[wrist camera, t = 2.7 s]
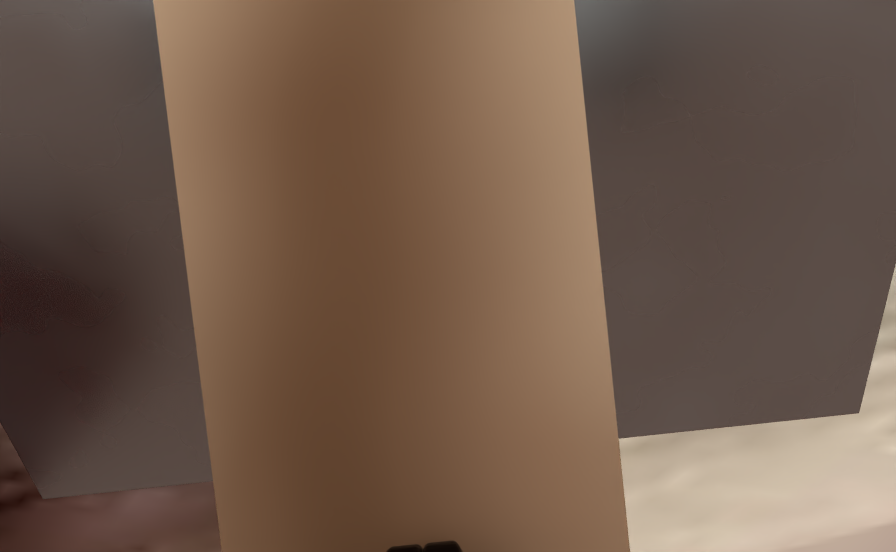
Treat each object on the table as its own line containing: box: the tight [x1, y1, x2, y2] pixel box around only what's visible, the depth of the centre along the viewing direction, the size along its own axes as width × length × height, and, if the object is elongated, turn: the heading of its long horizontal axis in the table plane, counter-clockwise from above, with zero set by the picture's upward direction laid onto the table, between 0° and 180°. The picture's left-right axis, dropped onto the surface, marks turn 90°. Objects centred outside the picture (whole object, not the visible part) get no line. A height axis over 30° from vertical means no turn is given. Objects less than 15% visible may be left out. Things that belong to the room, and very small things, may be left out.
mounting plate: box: [0, 0, 896, 499], centre depth 13 cm, size 20×18×4 cm
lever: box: [153, 0, 630, 552], centre depth 10 cm, size 5×16×2 cm
